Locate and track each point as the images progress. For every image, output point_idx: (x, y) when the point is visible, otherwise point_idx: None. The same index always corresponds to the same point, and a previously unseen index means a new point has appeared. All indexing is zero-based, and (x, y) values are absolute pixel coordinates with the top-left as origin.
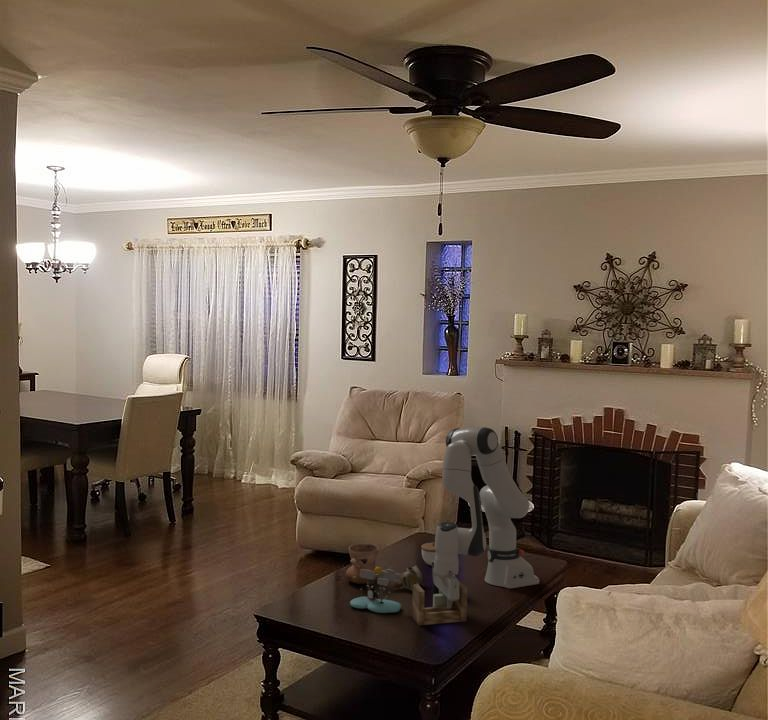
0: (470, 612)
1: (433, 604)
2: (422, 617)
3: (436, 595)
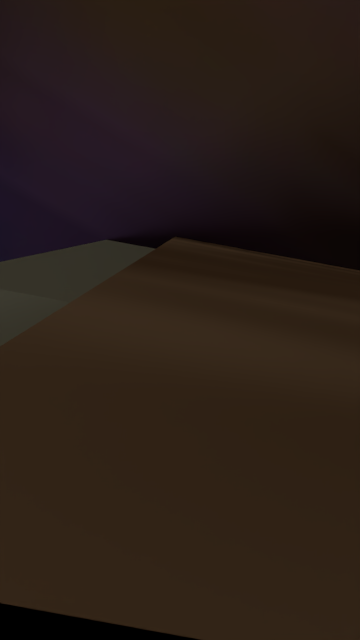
0: (218, 84)
1: None
2: None
3: None
